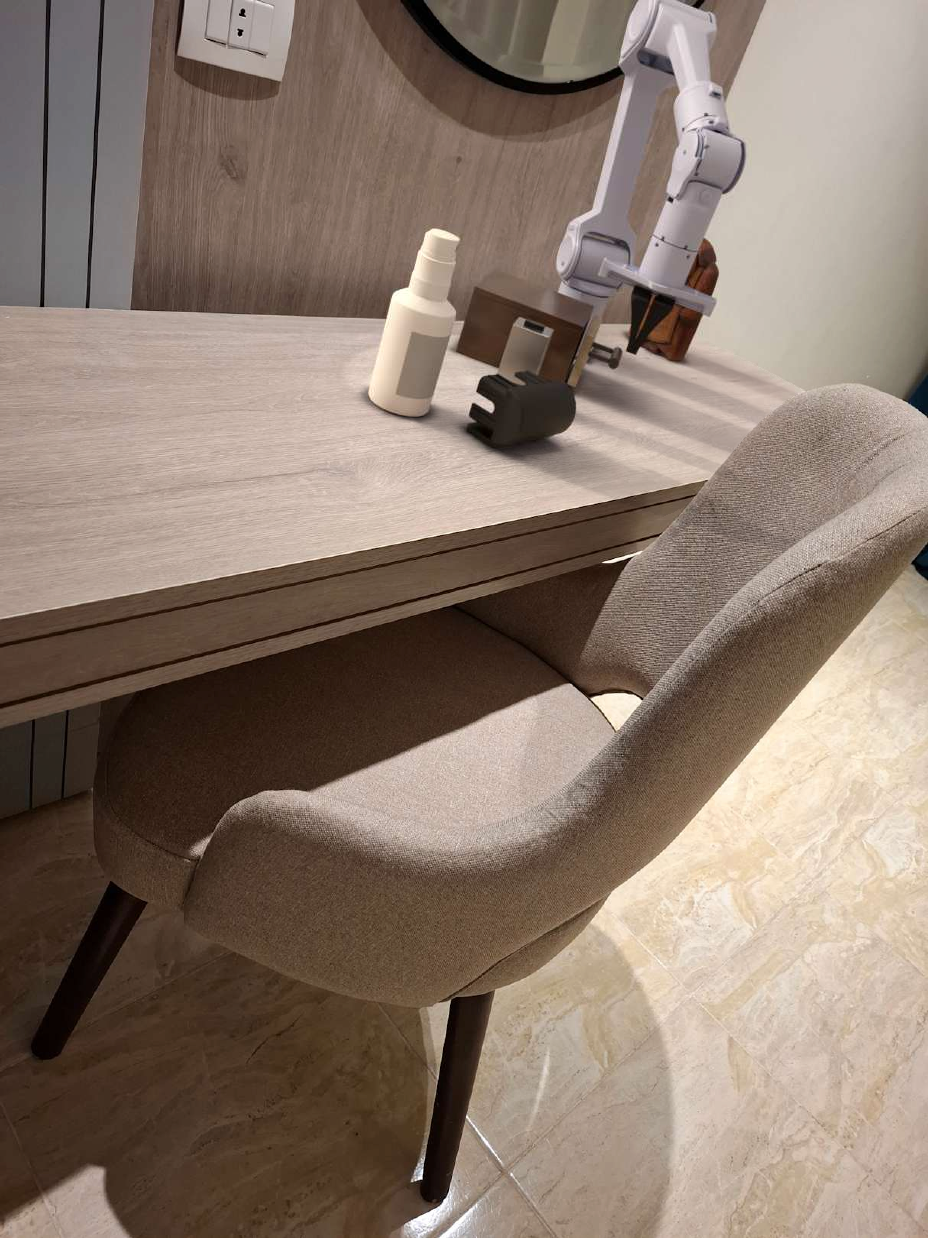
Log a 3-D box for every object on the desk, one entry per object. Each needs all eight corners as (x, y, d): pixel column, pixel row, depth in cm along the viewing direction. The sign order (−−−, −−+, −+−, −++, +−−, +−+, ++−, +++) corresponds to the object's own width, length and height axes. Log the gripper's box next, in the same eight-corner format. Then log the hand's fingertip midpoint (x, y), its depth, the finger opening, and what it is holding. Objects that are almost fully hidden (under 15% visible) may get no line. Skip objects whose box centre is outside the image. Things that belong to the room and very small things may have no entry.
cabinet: (572, 365, 128) (594, 305, 123) (560, 390, 117) (583, 326, 113) (476, 329, 128) (494, 268, 124) (455, 351, 118) (474, 286, 113)
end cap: (509, 461, 94) (530, 401, 90) (461, 429, 97) (479, 370, 94) (563, 449, 101) (585, 393, 98) (517, 419, 104) (536, 364, 101)
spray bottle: (420, 424, 95) (469, 251, 85) (359, 402, 95) (402, 227, 85) (434, 404, 101) (482, 240, 91) (377, 383, 101) (418, 217, 91)
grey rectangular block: (497, 382, 113) (520, 312, 108) (531, 395, 113) (555, 325, 108) (491, 391, 110) (514, 319, 105) (525, 404, 109) (550, 333, 104)
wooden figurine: (614, 333, 149) (658, 220, 139) (633, 331, 154) (677, 222, 144) (673, 364, 144) (723, 249, 134) (691, 361, 149) (740, 250, 139)
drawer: (613, 375, 127) (632, 328, 123) (605, 398, 117) (625, 348, 113) (495, 330, 127) (510, 283, 124) (478, 351, 118) (494, 299, 114)
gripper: (615, 225, 104) (573, 338, 112) (733, 269, 104) (684, 380, 111) (620, 217, 110) (580, 325, 117) (732, 259, 109) (685, 364, 117)
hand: (631, 351), depth 115 cm, fingers closed
